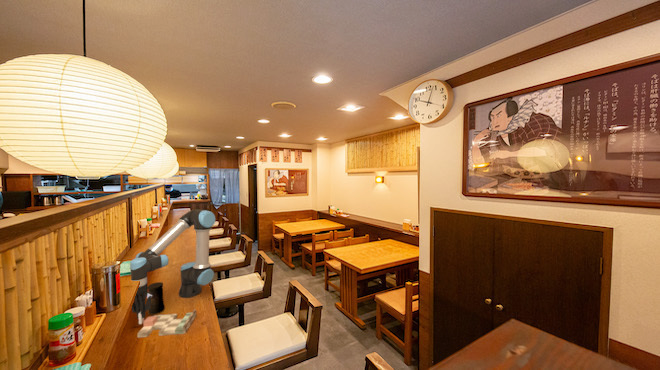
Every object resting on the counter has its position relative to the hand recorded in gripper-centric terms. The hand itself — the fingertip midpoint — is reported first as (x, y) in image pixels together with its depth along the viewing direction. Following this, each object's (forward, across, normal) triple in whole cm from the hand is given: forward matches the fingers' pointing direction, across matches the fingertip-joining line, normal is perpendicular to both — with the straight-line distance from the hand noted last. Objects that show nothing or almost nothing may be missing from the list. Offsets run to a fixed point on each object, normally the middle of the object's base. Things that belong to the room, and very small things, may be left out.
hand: (141, 322), depth 148 cm
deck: (+4, +14, 0) cm, 15 cm away
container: (+4, -1, +18) cm, 18 cm away
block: (+1, +5, 0) cm, 5 cm away
